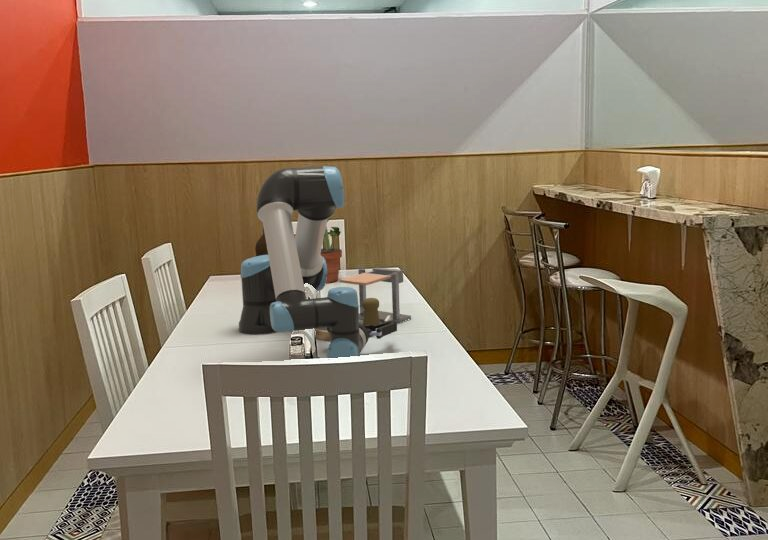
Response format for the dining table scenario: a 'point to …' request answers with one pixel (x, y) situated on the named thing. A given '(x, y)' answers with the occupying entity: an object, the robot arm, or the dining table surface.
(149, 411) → the dining table surface
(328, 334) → the wooden picture frame
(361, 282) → the drop flap
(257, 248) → the olive oil
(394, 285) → the flap stand
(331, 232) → the potted plant
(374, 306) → the cork
